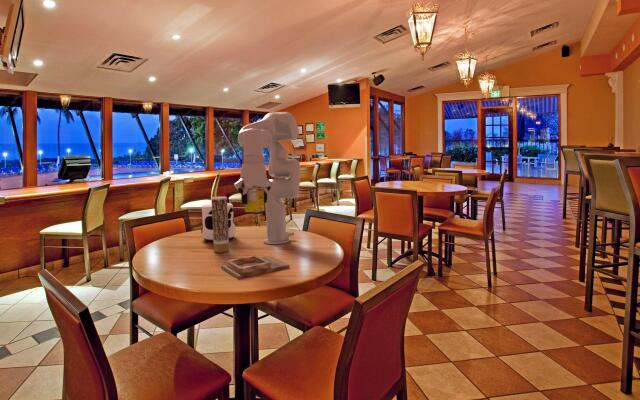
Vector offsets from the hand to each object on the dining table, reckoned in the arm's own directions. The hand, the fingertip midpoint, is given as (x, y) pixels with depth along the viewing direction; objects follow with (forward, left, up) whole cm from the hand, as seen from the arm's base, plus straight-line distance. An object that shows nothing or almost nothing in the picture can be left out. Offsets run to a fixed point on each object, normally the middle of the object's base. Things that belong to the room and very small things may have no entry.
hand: (254, 203), depth 161 cm
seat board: (+4, +6, -25) cm, 26 cm away
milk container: (-3, -49, -25) cm, 55 cm away
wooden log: (+5, -26, -25) cm, 36 cm away
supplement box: (0, 0, -4) cm, 4 cm away
